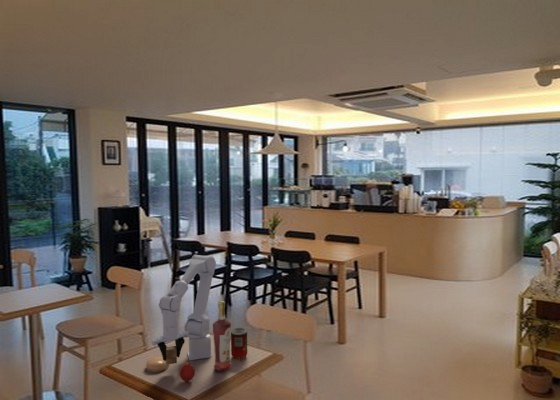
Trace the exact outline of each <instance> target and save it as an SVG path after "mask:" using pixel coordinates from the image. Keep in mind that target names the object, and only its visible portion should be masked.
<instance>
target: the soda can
mask: <svg viewBox="0 0 560 400" xmlns="http://www.w3.org/2000/svg"><path fill="white" fill-rule="evenodd" d="M247 355H248V331H247V329H246V328H243V327H236V328H235V327H234V328H233V329H232V330H231V337H230V356H231V357H232V359H233V360H235V361H243V360H245V359H246V358H247Z"/></svg>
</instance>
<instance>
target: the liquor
mask: <svg viewBox="0 0 560 400" xmlns="http://www.w3.org/2000/svg"><path fill="white" fill-rule="evenodd" d="M217 307H218V317H217V320H216V321H214V322H213V323H212V336H213V347H214V348H213V349H214V365H213V367H214V369H215V370H216V371H218V372H226V371H228V370H229V369H230V368H231V366H232V364H231V331H232V330H231V328H232V324H231V322H230V321H229V320H227V319H226V312H225V308H226V301H224V300H220V301H219V300H218V302H217Z"/></svg>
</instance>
